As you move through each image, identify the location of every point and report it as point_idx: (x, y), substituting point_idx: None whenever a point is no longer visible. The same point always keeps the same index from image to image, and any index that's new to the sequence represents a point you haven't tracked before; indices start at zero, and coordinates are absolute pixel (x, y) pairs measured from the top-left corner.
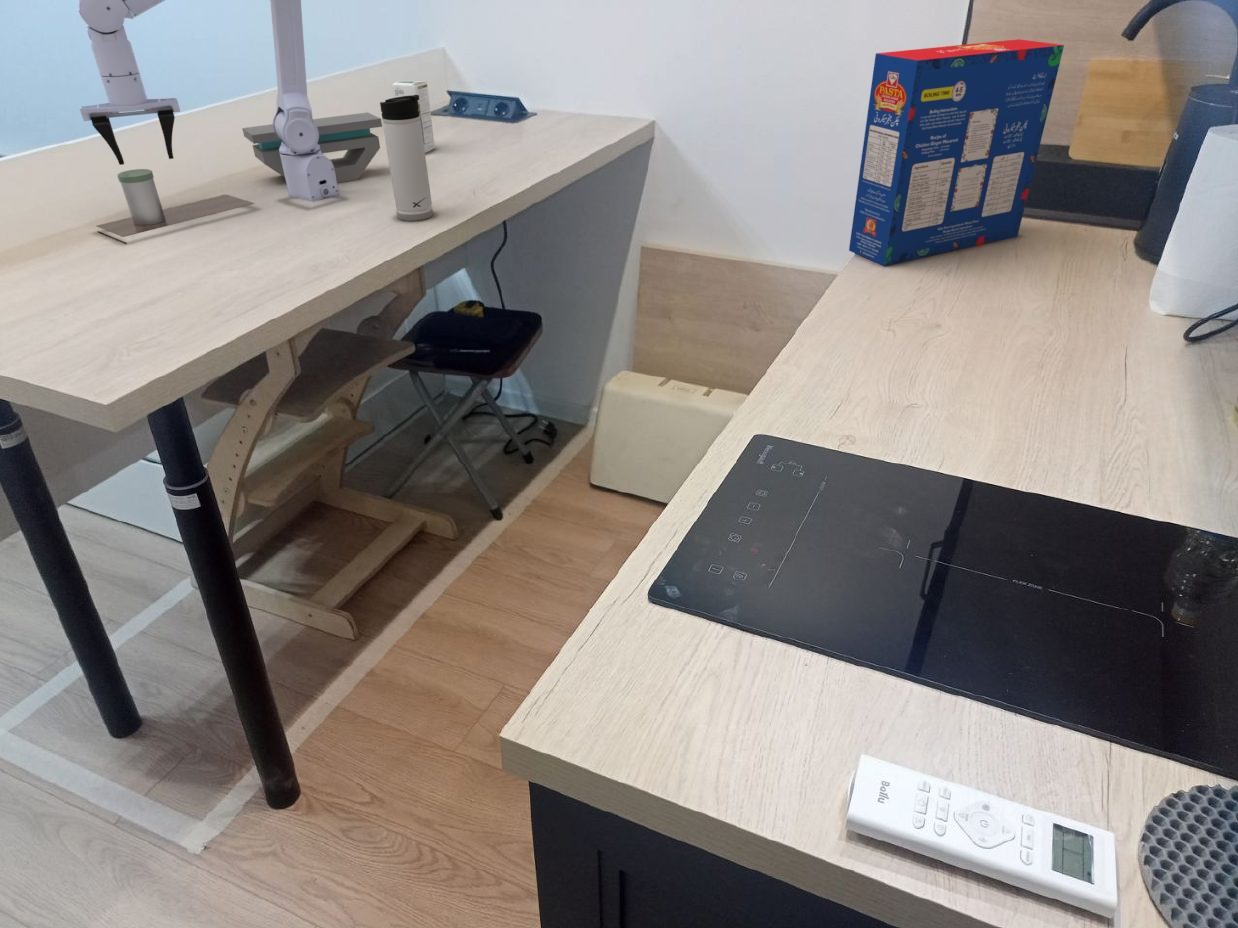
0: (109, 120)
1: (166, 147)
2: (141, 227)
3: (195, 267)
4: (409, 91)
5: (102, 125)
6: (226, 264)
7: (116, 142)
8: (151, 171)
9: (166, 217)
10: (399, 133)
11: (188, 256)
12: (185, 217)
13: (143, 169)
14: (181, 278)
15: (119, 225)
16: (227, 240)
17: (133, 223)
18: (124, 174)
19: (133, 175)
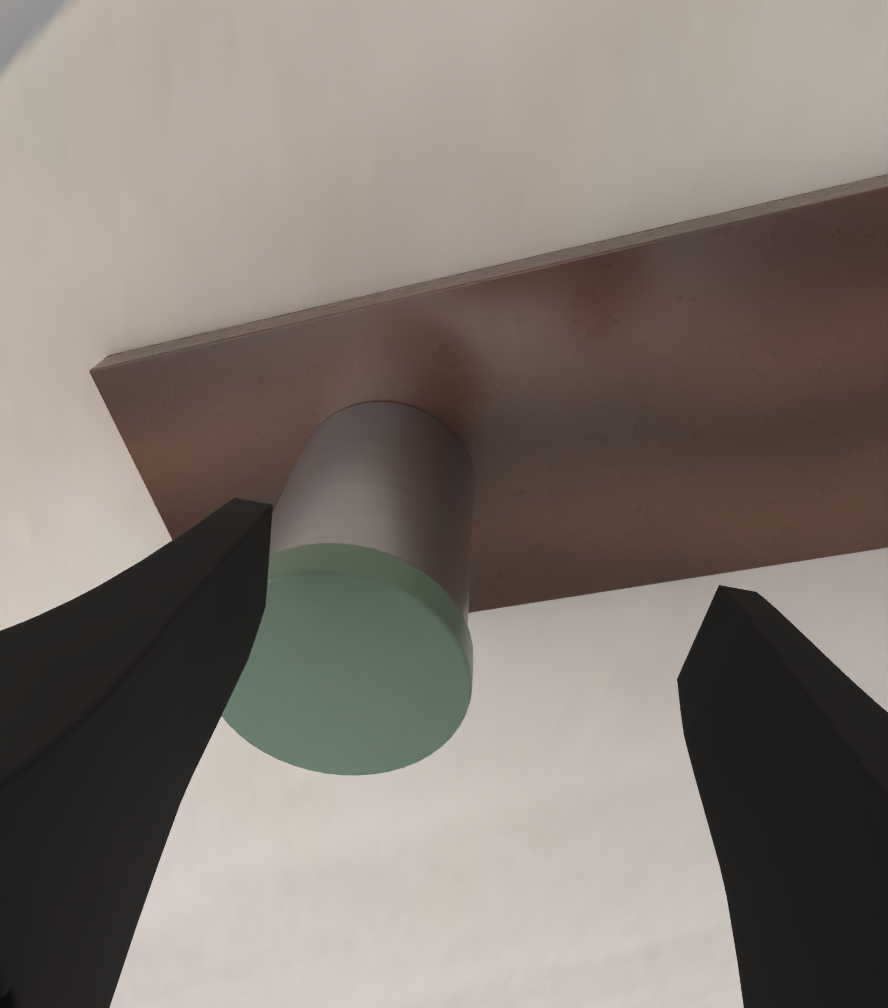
0: (28, 847)
1: (700, 795)
2: None
3: (423, 953)
4: None
5: None
6: (510, 978)
7: (190, 617)
8: (461, 719)
9: (485, 476)
10: None
11: (432, 873)
12: (572, 545)
13: (422, 625)
14: (364, 991)
15: (221, 457)
16: (615, 816)
17: None
18: (255, 676)
19: (315, 744)
